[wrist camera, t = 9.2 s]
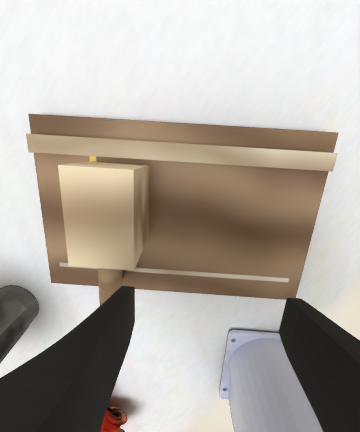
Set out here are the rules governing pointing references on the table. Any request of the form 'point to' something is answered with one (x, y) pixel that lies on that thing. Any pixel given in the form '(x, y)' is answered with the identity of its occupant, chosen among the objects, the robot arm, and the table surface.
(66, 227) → the block
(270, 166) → the walnut board
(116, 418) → the dragon fruit
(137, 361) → the table surface
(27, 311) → the beverage cup
